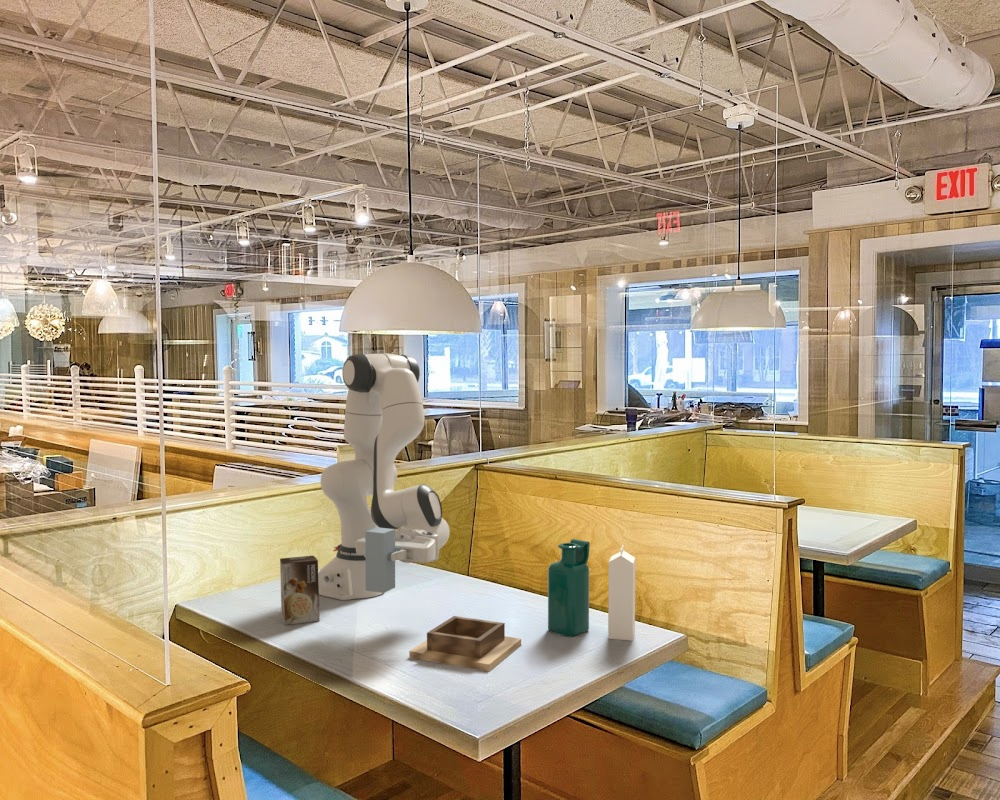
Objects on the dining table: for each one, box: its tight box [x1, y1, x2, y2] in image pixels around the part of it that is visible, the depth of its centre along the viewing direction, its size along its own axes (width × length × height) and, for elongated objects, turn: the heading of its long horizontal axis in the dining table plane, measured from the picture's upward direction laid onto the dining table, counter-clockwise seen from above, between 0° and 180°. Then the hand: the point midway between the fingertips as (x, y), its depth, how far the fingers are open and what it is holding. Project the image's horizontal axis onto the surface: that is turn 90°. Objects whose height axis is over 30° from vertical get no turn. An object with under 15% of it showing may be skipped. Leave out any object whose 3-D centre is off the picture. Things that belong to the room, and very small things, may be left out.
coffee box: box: [279, 555, 321, 626], centre depth 210 cm, size 9×6×16 cm
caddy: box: [408, 615, 522, 672], centre depth 187 cm, size 20×18×6 cm
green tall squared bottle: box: [547, 538, 591, 638], centre depth 201 cm, size 10×8×22 cm
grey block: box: [365, 527, 396, 594], centre depth 190 cm, size 5×5×14 cm
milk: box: [607, 545, 636, 641], centre depth 197 cm, size 6×6×22 cm
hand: (378, 556), depth 189 cm, fingers closed on grey block, 5 cm apart
